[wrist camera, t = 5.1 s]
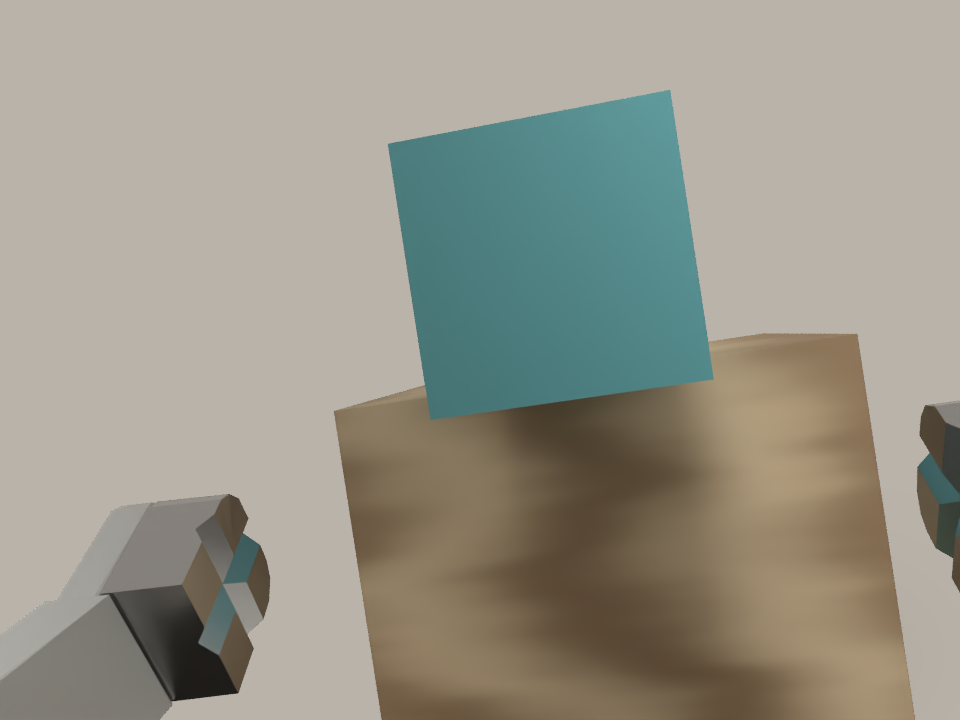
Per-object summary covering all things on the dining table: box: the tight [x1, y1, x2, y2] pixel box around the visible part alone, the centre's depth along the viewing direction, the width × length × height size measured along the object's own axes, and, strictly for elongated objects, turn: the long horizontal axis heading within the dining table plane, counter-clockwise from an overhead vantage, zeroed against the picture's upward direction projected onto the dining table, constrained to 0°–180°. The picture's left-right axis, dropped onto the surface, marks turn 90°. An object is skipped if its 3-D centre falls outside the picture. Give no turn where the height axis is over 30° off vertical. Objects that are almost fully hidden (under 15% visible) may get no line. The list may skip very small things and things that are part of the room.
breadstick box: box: [388, 90, 714, 420], centre depth 22 cm, size 4×20×4 cm, turn 172°
